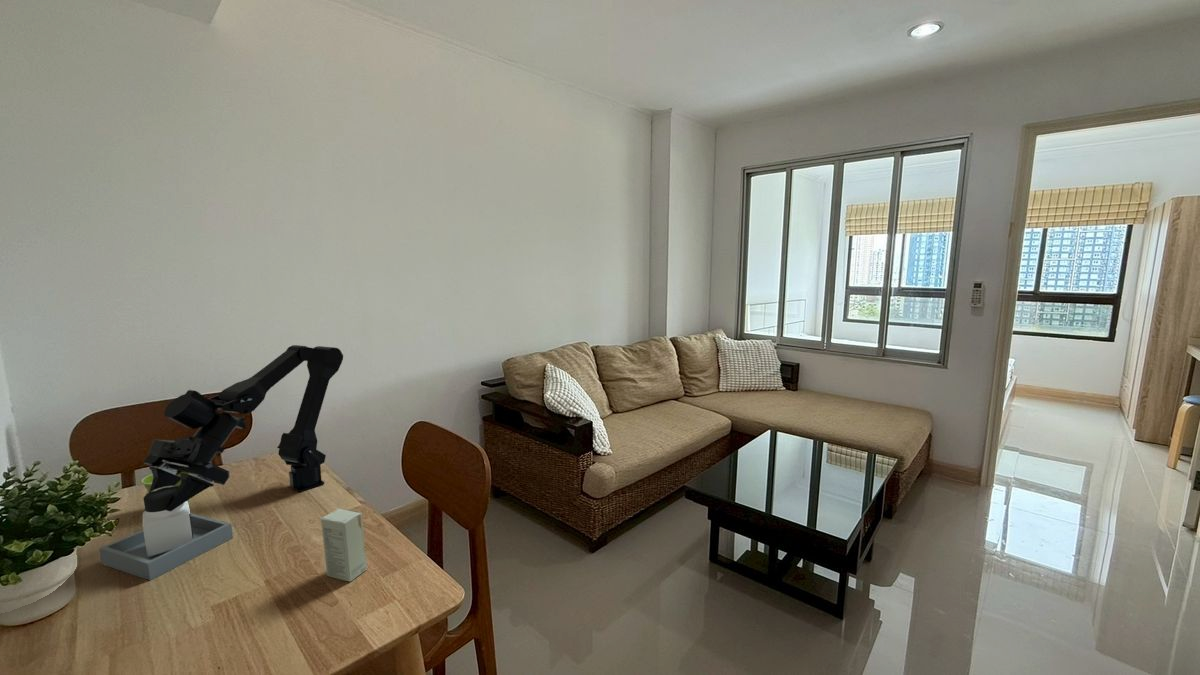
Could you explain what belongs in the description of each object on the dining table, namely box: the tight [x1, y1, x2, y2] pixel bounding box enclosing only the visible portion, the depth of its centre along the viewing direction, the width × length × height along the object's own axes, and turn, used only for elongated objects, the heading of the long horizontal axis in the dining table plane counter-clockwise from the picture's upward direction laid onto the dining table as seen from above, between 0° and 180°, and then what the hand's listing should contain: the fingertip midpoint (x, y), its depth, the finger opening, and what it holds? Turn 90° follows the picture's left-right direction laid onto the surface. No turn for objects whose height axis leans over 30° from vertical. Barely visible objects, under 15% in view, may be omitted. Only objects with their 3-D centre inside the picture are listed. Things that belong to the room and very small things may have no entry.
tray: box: [99, 512, 234, 581], centre depth 98 cm, size 15×15×4 cm
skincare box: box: [320, 507, 368, 582], centre depth 91 cm, size 6×4×12 cm
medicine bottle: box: [142, 486, 194, 557], centre depth 97 cm, size 7×7×12 cm
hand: (157, 508), depth 96 cm, fingers open, 6 cm apart
